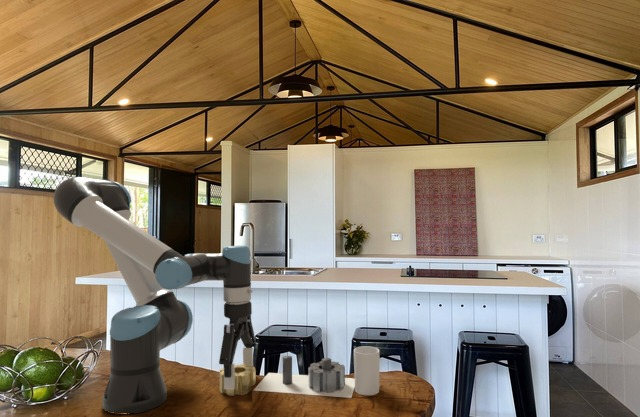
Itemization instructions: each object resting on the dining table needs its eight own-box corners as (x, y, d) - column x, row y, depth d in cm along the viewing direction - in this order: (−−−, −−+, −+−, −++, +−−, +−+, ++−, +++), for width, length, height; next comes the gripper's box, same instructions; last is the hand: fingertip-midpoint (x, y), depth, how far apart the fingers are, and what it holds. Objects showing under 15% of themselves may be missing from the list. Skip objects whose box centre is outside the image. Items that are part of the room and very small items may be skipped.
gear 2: (312, 394, 111) (312, 374, 111) (306, 380, 120) (306, 362, 120) (348, 391, 112) (348, 371, 113) (339, 377, 122) (339, 359, 122)
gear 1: (213, 394, 115) (213, 375, 115) (228, 380, 124) (228, 363, 124) (248, 396, 113) (248, 377, 113) (260, 382, 122) (260, 365, 123)
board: (253, 395, 114) (253, 363, 114) (268, 377, 126) (268, 348, 126) (351, 403, 108) (351, 369, 109) (357, 384, 121) (356, 353, 121)
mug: (378, 402, 109) (378, 354, 109) (352, 400, 110) (351, 353, 111) (382, 387, 119) (381, 343, 119) (358, 385, 120) (357, 342, 121)
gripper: (232, 311, 106) (234, 398, 106) (265, 293, 131) (266, 364, 130) (204, 311, 108) (206, 396, 107) (241, 293, 132) (243, 363, 132)
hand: (239, 379), depth 119 cm, fingers open, 13 cm apart
